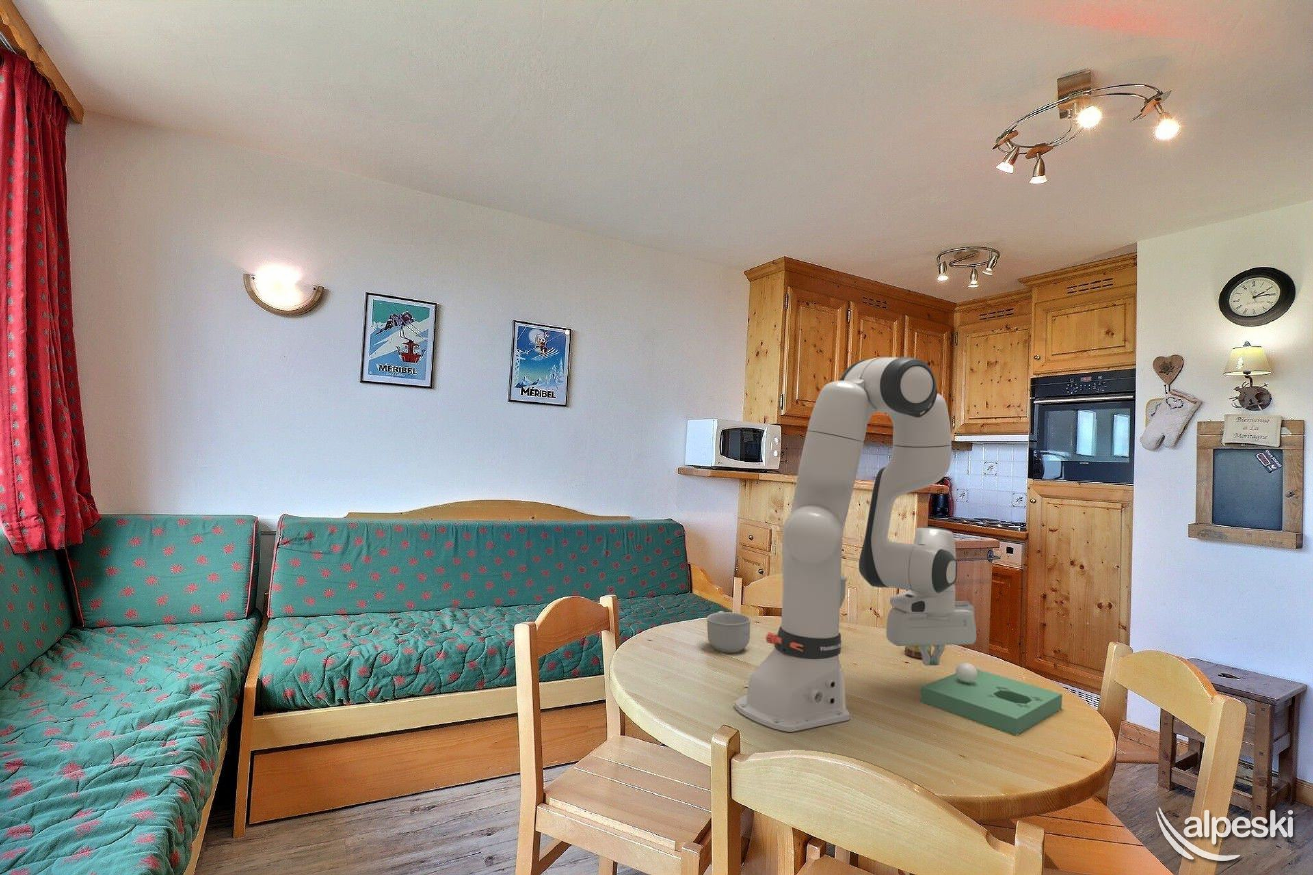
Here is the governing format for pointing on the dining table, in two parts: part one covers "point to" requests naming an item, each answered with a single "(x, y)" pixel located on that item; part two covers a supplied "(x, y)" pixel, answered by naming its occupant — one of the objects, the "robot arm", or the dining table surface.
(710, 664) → the dining table surface
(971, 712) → the putting board
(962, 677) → the ball
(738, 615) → the teacup
